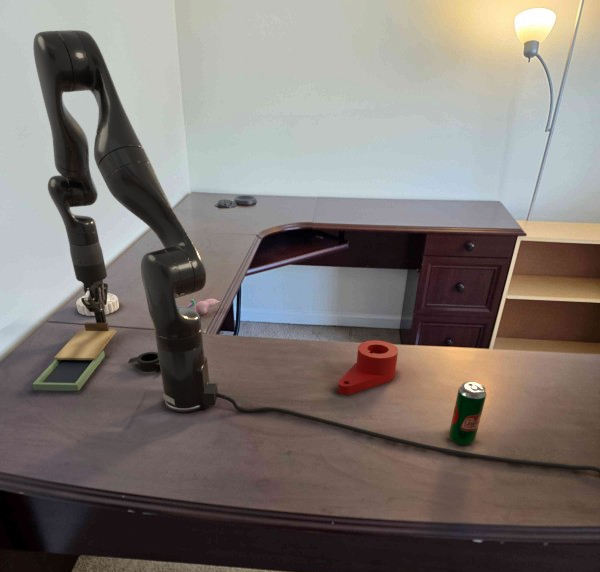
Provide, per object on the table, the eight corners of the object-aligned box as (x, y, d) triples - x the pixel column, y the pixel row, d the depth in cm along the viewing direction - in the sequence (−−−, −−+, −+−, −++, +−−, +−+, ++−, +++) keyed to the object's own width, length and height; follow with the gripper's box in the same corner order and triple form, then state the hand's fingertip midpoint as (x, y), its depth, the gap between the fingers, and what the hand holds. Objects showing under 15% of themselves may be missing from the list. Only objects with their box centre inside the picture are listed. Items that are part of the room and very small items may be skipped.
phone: (97, 357, 125) (96, 354, 124) (74, 387, 112) (73, 384, 112) (69, 357, 125) (68, 354, 124) (43, 387, 112) (42, 383, 112)
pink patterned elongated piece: (184, 329, 145) (225, 308, 152) (179, 310, 141) (221, 290, 148) (173, 322, 148) (213, 302, 156) (167, 304, 145) (209, 285, 152)
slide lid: (116, 331, 134) (115, 322, 133) (94, 360, 120) (91, 350, 118) (81, 330, 134) (79, 321, 133) (54, 359, 120) (51, 349, 118)
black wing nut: (153, 356, 127) (152, 345, 125) (176, 369, 121) (174, 358, 120) (126, 366, 122) (124, 355, 121) (148, 380, 116) (146, 369, 115)
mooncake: (87, 319, 146) (84, 308, 144) (72, 308, 153) (69, 296, 152) (125, 310, 153) (123, 298, 151) (109, 299, 160) (107, 288, 158)
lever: (371, 360, 126) (373, 337, 123) (402, 373, 121) (405, 349, 117) (324, 386, 115) (326, 360, 112) (356, 401, 110) (359, 375, 106)
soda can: (459, 449, 96) (471, 396, 89) (443, 434, 100) (453, 383, 93) (480, 443, 98) (493, 391, 91) (463, 429, 101) (475, 378, 95)
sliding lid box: (105, 357, 126) (103, 350, 125) (79, 392, 111) (77, 384, 110) (66, 356, 126) (64, 349, 125) (34, 391, 111) (32, 384, 110)
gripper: (93, 268, 120) (107, 333, 130) (111, 253, 132) (123, 314, 141) (62, 267, 120) (78, 333, 130) (83, 252, 132) (96, 314, 141)
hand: (101, 323), depth 135 cm, fingers closed
